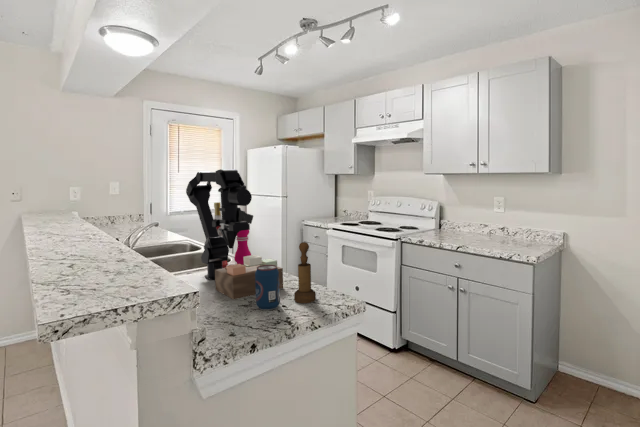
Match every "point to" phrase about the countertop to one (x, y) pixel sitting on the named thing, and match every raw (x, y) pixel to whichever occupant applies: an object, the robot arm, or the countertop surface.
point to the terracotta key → (236, 269)
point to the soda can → (267, 287)
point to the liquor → (218, 216)
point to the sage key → (269, 262)
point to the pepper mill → (242, 247)
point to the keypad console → (240, 282)
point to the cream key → (252, 260)
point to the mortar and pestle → (304, 278)
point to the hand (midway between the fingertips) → (231, 248)
